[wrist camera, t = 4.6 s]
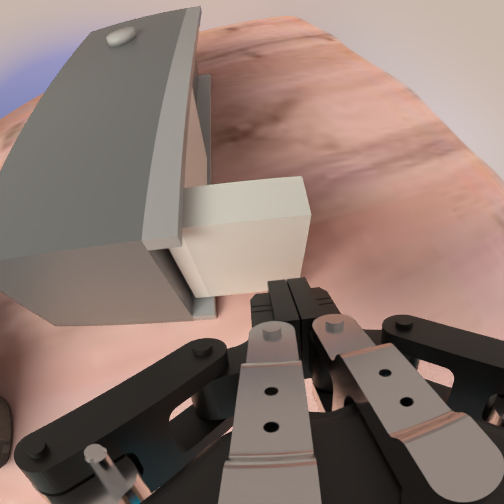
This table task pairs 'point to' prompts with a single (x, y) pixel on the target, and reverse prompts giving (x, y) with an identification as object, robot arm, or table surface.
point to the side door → (238, 227)
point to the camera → (5, 431)
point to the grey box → (108, 180)
